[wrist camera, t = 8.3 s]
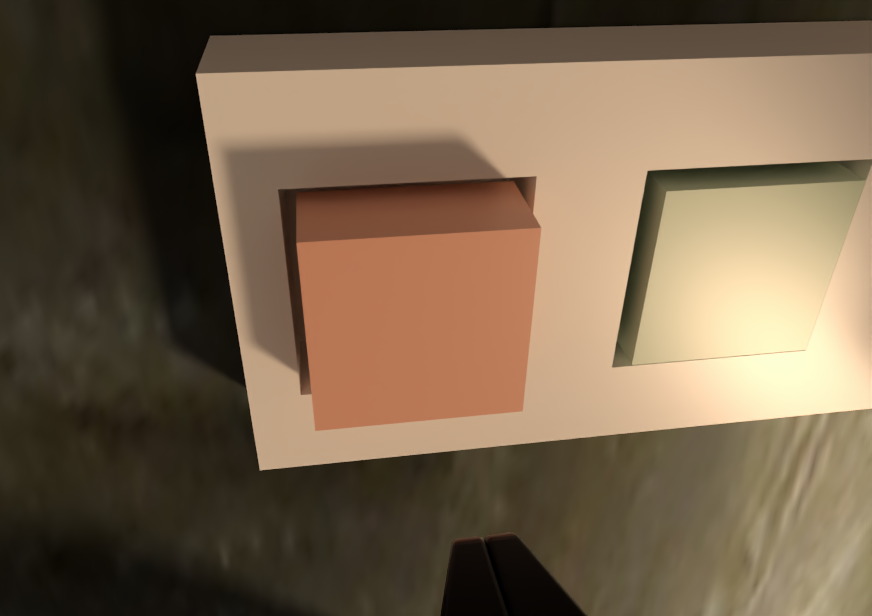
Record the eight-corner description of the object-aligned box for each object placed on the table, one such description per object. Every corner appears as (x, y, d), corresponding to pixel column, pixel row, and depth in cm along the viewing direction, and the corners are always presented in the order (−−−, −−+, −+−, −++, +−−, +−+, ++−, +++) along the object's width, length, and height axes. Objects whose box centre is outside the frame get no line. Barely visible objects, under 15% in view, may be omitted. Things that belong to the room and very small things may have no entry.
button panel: (1157, 14, 17) (1275, 41, 15) (990, 335, 22) (1062, 388, 20) (210, 35, 14) (195, 73, 12) (263, 399, 19) (260, 470, 17)
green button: (809, 143, 17) (865, 180, 15) (760, 302, 19) (805, 350, 17) (628, 152, 16) (666, 191, 14) (601, 315, 18) (631, 365, 17)
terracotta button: (513, 181, 15) (541, 227, 13) (500, 352, 17) (522, 411, 15) (296, 192, 14) (296, 242, 12) (313, 368, 16) (315, 430, 15)
